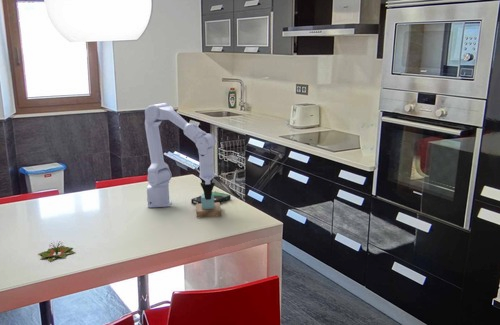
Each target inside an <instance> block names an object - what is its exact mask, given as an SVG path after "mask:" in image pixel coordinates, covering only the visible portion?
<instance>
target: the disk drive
mask: <svg viewBox="0 0 500 325" xmlns="http://www.w3.org/2000/svg"><path fill="white" fill-rule="evenodd" d="M212 193H213V195H214V203H216V202H220V205H221V204H223V203H226V202H228V201H231V200H232V199H231V198H232V197H231V194H227V193H224V192H222V193H221V192H219V191H212ZM190 200H191V205H194V206H196V204H199V203H202V201H201V195H199V196H195V197H193V198H191V199H190Z"/></svg>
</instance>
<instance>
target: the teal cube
mask: <svg viewBox="0 0 500 325" xmlns="http://www.w3.org/2000/svg"><path fill="white" fill-rule="evenodd" d="M200 196H201V201H202V209H214V195H213V193H212V196H211V199H210V200H206V199H205V195H204V193H201V194H200Z"/></svg>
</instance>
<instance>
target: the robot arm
mask: <svg viewBox="0 0 500 325" xmlns="http://www.w3.org/2000/svg"><path fill="white" fill-rule="evenodd" d="M144 117H145V119H144V130H145V135H146V140H147V141H146V142H147V148H148V153H149V158H150V165H149V167H148V169H147V178H146V179H147V182H148V185H147V186H146V195H147V198H146V201H147V208H162V207H163V208H164V207H171V204H172V203H171V202H172V200H171V198H170V188H169V187H170V186H169V185H170V181H171V180H172V177H173V176H172V172H171V170H170V167H169V164H168V163H166V162H165V160H164V153H163V147H162V146H163V145H162V141H161V134H160V129H159V128H160V127H159V126H160V125H161V123H162V122H163V121H164V120H165V121H170V122H171V123H173V124H174V125H175V126H177V127H178V128H180V129H181V130H183V134H184V136H186V137H187V138H188V139H189V140H191V141H192V142H193V143H194V144H195V146H196V148H197V153H198V157H199V158H198V159H199V160H198V161H199V180H200V181H201V182H200V187H201V188H202V190H203V194H204V195H205V199H206V200H210V199H211V196H212V192H213V190H214V187H215V182H213V179H214V178H215V177H216V178H217V176H218V174H217V173H215V164H214V161H215V160H214V147H215V145H216V137H215V136H214V135H213V134H212V133H207V132H206V131H205V130H202V129H201V128H200V127H199V126H198V124H197V123H193V122H191V123H189V122H188V121H187V120H185V118H183V117H182V116H181V115H180V113H178V112H176V110H175V109H174V107H173V106H172V105H170V103H168V102H162V103H156V104H149V105H148V106H147V107H146V108H145V110H144Z"/></svg>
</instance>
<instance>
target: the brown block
mask: <svg viewBox="0 0 500 325" xmlns="http://www.w3.org/2000/svg"><path fill="white" fill-rule="evenodd" d="M195 208H196V209H195V210H196V211H195V214H196V215H195V217H196V218H210V217H211V218H212V217H222V208H221V204H220V202H216V203H214V209H202V203H199V204H196V205H195Z"/></svg>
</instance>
